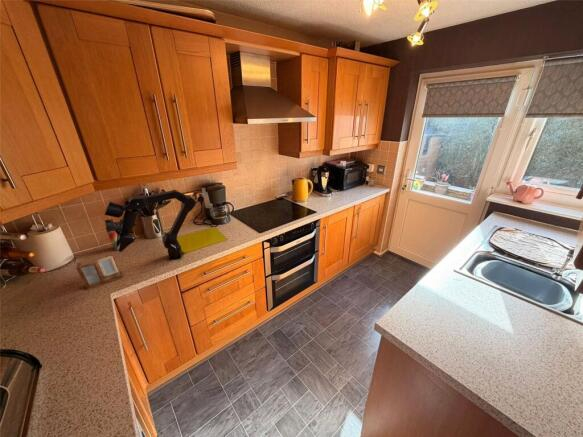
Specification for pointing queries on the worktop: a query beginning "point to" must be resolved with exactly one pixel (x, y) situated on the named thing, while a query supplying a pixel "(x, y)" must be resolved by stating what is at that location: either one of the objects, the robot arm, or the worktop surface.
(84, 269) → the window frame
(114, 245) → the lotion bottle
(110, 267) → the frame
